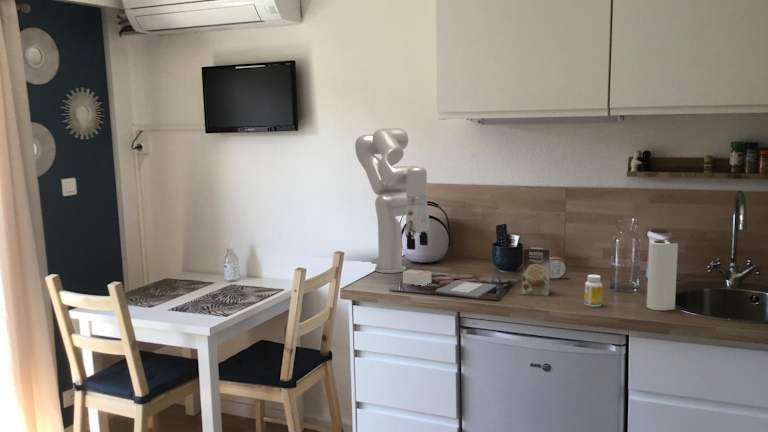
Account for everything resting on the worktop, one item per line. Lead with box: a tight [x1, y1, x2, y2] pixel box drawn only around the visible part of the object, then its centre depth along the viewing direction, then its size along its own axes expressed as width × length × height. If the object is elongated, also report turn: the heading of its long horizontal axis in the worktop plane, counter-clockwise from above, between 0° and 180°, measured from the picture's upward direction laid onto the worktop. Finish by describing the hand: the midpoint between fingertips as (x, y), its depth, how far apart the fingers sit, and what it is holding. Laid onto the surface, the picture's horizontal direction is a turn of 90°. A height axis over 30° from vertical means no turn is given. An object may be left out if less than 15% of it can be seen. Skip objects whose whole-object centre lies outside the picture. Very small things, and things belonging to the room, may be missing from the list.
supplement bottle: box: [583, 274, 603, 308], centre depth 209 cm, size 5×5×10 cm
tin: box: [549, 256, 568, 280], centre depth 245 cm, size 15×3×8 cm, turn 84°
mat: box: [434, 279, 498, 299], centre depth 231 cm, size 16×18×1 cm
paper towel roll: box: [646, 240, 679, 311], centre depth 203 cm, size 7×6×21 cm
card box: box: [402, 268, 432, 287], centre depth 242 cm, size 9×6×5 cm, turn 55°
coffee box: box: [521, 245, 551, 297], centre depth 224 cm, size 9×6×16 cm
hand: (417, 247), depth 240 cm, fingers open, 9 cm apart
